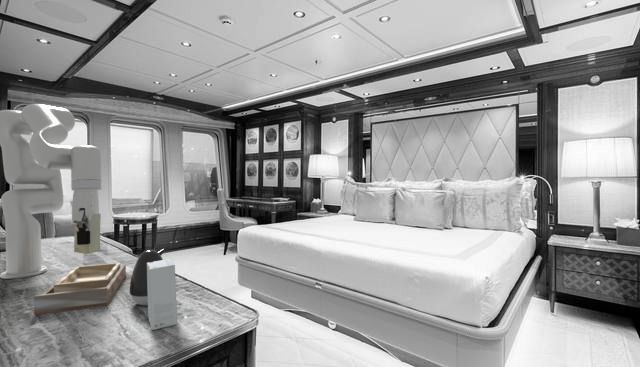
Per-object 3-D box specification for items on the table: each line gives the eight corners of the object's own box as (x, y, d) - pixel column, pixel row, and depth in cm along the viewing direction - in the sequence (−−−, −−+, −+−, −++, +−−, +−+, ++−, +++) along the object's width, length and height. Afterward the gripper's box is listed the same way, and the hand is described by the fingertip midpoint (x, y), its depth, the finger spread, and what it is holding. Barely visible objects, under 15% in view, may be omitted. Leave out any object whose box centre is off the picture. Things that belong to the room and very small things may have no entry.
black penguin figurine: (178, 297, 94) (177, 247, 94) (148, 311, 84) (148, 255, 84) (151, 293, 98) (151, 244, 97) (121, 306, 88) (120, 252, 87)
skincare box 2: (177, 325, 77) (177, 265, 76) (149, 331, 74) (149, 269, 73) (172, 312, 84) (171, 257, 83) (146, 318, 80) (146, 260, 80)
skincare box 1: (73, 252, 97) (73, 213, 97) (88, 249, 102) (88, 212, 101) (86, 254, 95) (86, 214, 95) (101, 251, 99) (101, 213, 99)
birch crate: (76, 277, 108) (76, 266, 108) (120, 273, 113) (120, 262, 113) (53, 298, 90) (53, 285, 90) (107, 292, 95) (107, 279, 95)
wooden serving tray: (72, 281, 108) (71, 266, 108) (125, 275, 115) (125, 261, 115) (34, 315, 82) (34, 296, 82) (106, 305, 88) (106, 288, 88)
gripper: (80, 185, 104) (81, 237, 105) (61, 186, 88) (62, 248, 89) (107, 184, 107) (108, 236, 108) (93, 186, 91) (94, 246, 92)
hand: (87, 241), depth 98 cm, fingers closed on skincare box 1, 7 cm apart
